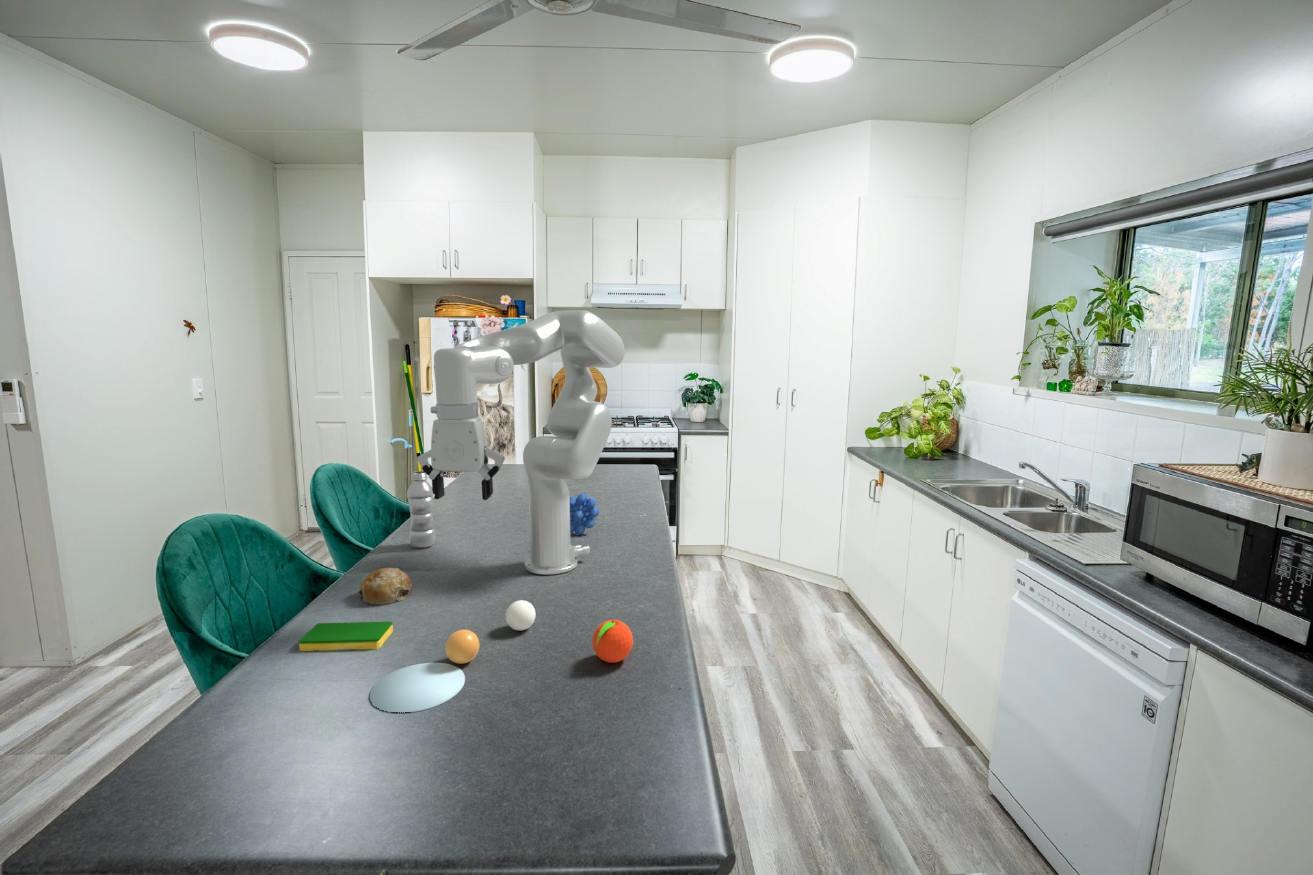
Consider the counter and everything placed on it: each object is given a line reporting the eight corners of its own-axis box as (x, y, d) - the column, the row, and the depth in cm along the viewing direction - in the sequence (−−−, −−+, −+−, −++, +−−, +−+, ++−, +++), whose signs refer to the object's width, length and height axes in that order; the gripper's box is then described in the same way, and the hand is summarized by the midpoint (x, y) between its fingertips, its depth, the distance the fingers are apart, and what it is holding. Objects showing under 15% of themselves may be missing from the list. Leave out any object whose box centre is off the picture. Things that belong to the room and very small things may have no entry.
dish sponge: (318, 634, 116) (317, 622, 116) (393, 632, 117) (393, 620, 116) (299, 653, 109) (297, 640, 109) (379, 651, 110) (378, 638, 109)
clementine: (614, 677, 100) (613, 636, 99) (580, 666, 104) (579, 626, 103) (641, 656, 107) (640, 617, 106) (608, 646, 110) (608, 608, 109)
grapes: (598, 529, 178) (597, 488, 177) (600, 536, 172) (599, 494, 170) (557, 531, 177) (556, 490, 175) (558, 538, 170) (556, 496, 168)
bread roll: (385, 624, 127) (398, 592, 126) (344, 600, 129) (356, 568, 127) (413, 604, 137) (425, 574, 135) (374, 582, 138) (386, 552, 136)
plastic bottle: (413, 542, 167) (409, 470, 164) (439, 542, 167) (435, 469, 164) (406, 550, 160) (401, 475, 157) (433, 550, 161) (428, 474, 158)
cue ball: (531, 620, 121) (530, 593, 120) (539, 631, 116) (539, 603, 115) (502, 626, 118) (501, 599, 117) (510, 638, 113) (509, 610, 112)
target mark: (455, 656, 107) (455, 655, 107) (473, 696, 95) (473, 695, 95) (366, 677, 100) (366, 675, 100) (373, 723, 88) (373, 722, 88)
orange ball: (476, 650, 109) (474, 621, 108) (483, 664, 104) (482, 634, 103) (443, 658, 106) (441, 628, 105) (449, 673, 102) (447, 641, 101)
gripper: (405, 415, 117) (412, 502, 120) (495, 415, 116) (499, 503, 119) (423, 410, 124) (429, 492, 127) (507, 410, 123) (511, 493, 126)
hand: (463, 497), depth 123 cm, fingers open, 9 cm apart
